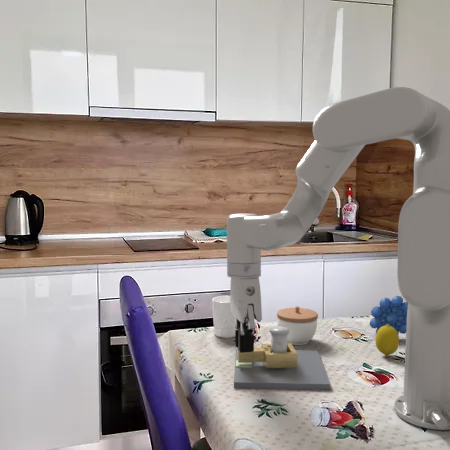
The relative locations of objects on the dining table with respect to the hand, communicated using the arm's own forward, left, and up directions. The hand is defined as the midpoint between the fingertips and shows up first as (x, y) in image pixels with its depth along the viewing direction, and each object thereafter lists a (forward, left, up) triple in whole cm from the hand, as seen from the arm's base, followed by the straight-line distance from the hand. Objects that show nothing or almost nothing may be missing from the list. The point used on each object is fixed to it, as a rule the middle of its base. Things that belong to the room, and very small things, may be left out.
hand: (244, 348), depth 116 cm
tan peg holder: (+1, -5, -3) cm, 6 cm away
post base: (+1, -8, -5) cm, 10 cm away
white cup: (+26, +5, -5) cm, 27 cm away
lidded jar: (+21, -14, -6) cm, 26 cm away
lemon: (+11, -35, -5) cm, 37 cm away
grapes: (+25, -40, -5) cm, 47 cm away
